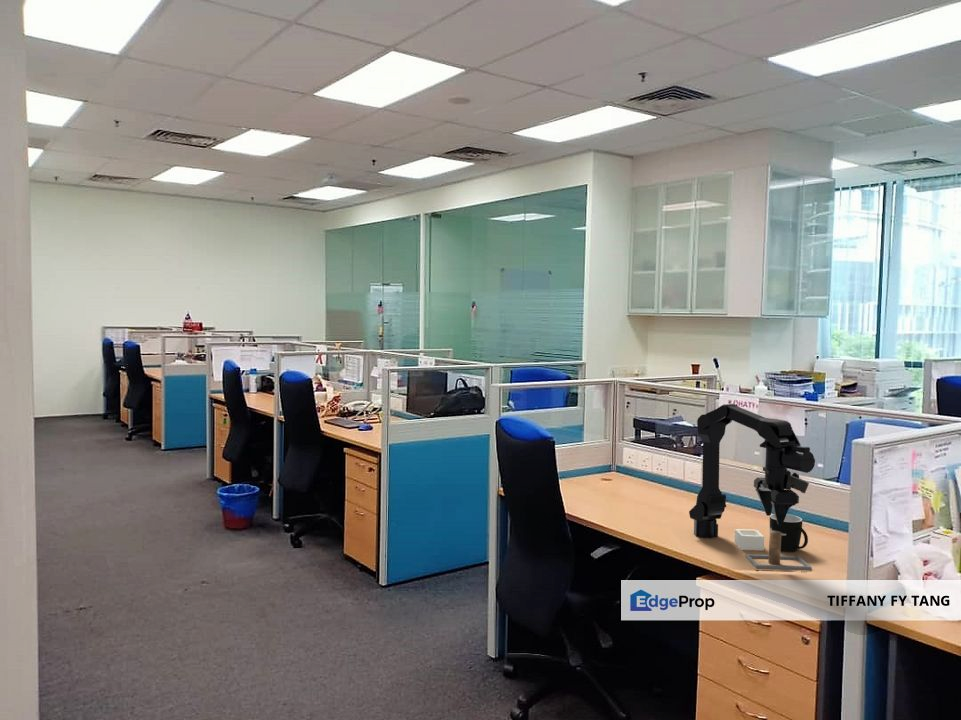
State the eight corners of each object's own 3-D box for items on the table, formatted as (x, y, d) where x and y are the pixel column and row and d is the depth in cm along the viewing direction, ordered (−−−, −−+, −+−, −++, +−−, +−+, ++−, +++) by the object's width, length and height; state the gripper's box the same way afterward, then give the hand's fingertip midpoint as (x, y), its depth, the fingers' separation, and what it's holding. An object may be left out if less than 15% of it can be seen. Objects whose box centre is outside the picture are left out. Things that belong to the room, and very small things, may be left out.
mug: (762, 548, 210) (763, 515, 209) (782, 544, 214) (783, 512, 214) (796, 560, 199) (797, 526, 199) (816, 556, 203) (818, 522, 203)
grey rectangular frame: (755, 570, 191) (755, 565, 191) (745, 559, 200) (745, 554, 200) (811, 572, 190) (811, 567, 190) (798, 561, 199) (798, 556, 199)
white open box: (741, 552, 206) (741, 535, 206) (734, 545, 213) (734, 529, 212) (763, 553, 206) (764, 536, 206) (756, 545, 212) (756, 529, 212)
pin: (770, 565, 194) (772, 533, 193) (766, 561, 197) (768, 530, 196) (781, 565, 194) (783, 534, 193) (777, 561, 197) (779, 530, 196)
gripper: (819, 473, 184) (817, 531, 185) (792, 459, 203) (790, 511, 204) (777, 472, 185) (774, 529, 186) (754, 458, 204) (752, 510, 205)
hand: (774, 520), depth 195 cm, fingers open, 9 cm apart
